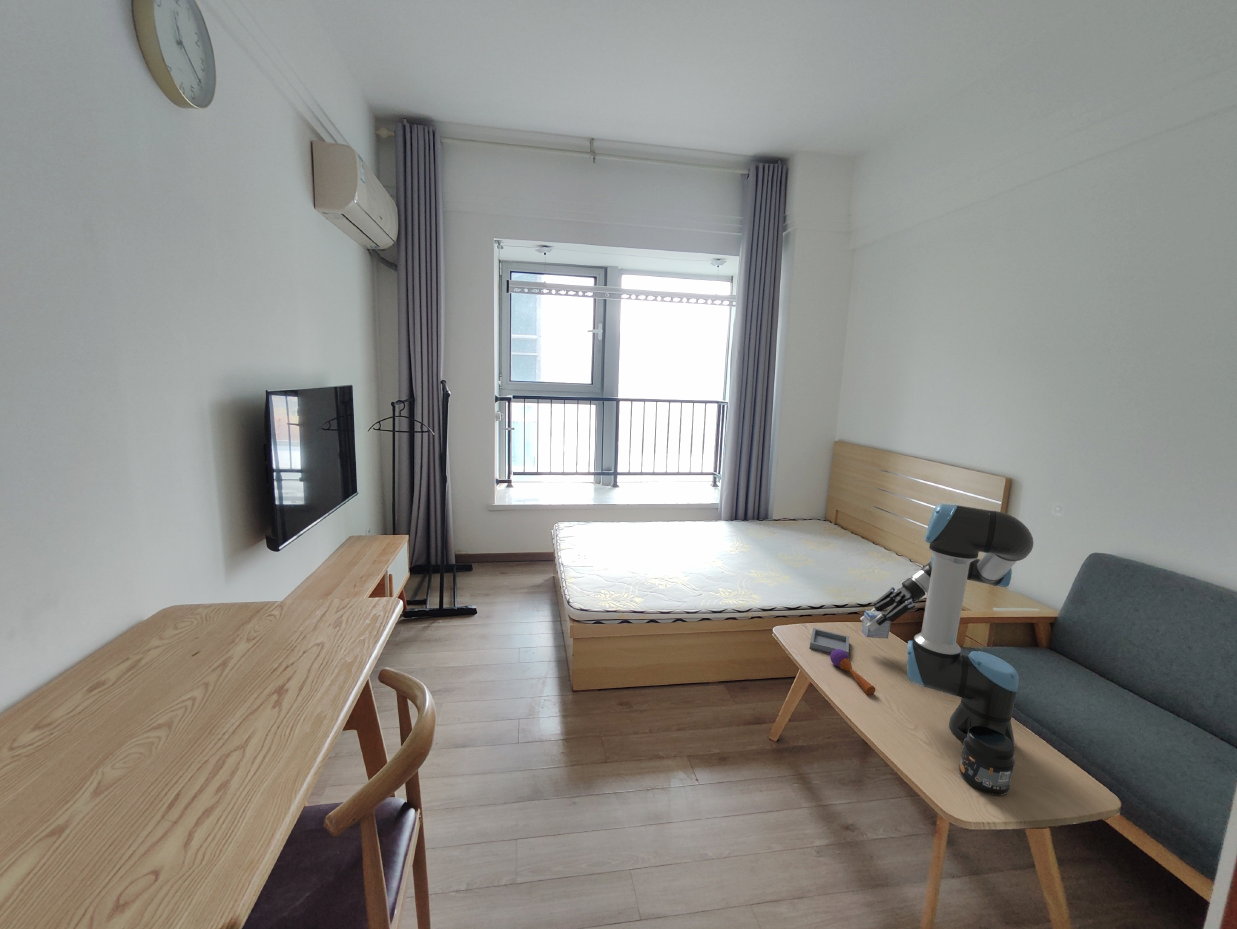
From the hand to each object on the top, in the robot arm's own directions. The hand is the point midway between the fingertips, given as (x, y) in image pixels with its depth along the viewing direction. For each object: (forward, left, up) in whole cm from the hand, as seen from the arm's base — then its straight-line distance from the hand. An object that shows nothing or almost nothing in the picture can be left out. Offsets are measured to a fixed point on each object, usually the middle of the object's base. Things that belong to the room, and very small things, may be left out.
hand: (865, 624), depth 188 cm
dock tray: (-1, +11, -11) cm, 15 cm away
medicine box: (+1, -3, -4) cm, 6 cm away
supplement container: (-55, -27, -11) cm, 62 cm away
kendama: (-20, +3, -11) cm, 23 cm away
